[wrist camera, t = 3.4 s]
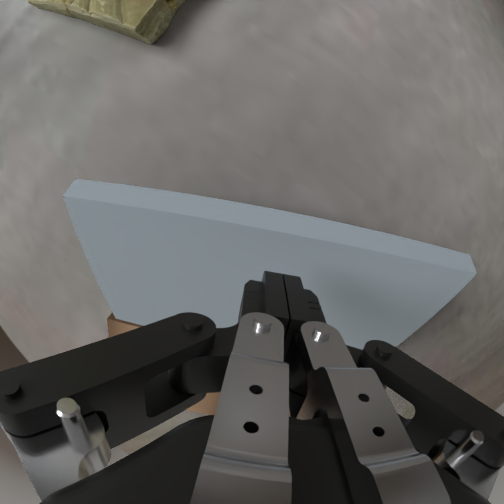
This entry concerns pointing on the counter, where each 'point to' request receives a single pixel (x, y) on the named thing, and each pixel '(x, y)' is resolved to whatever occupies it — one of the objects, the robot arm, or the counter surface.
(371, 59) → the counter surface
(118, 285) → the grey plank
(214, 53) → the counter surface
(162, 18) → the decorative tile
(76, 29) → the counter surface
